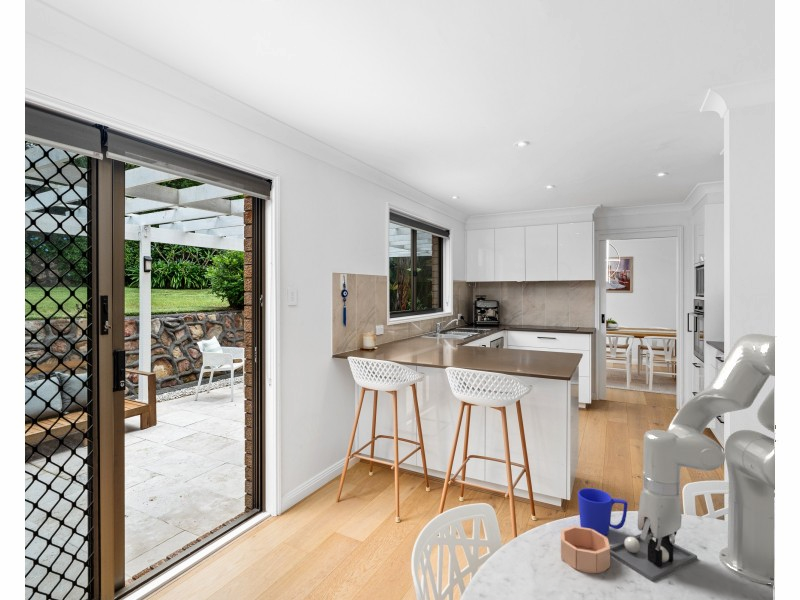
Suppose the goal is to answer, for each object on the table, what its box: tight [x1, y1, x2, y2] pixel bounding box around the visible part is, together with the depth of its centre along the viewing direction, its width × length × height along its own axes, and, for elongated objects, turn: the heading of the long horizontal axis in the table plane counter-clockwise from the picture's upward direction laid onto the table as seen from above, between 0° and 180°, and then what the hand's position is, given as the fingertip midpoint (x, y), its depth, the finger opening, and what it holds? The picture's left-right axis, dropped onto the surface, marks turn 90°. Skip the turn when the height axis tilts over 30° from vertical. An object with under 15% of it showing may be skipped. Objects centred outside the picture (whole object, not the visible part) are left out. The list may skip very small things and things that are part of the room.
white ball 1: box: [623, 536, 640, 553], centre depth 107 cm, size 4×4×4 cm
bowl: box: [560, 525, 611, 574], centre depth 104 cm, size 11×11×5 cm
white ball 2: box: [660, 546, 669, 563], centre depth 103 cm, size 4×4×4 cm
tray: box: [609, 533, 698, 582], centre depth 105 cm, size 17×12×1 cm
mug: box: [577, 487, 628, 537], centre depth 115 cm, size 8×12×10 cm
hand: (660, 560), depth 103 cm, fingers closed on white ball 2, 3 cm apart
